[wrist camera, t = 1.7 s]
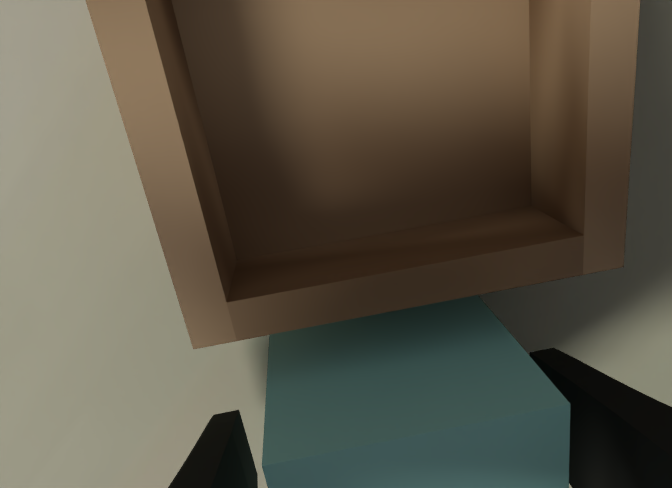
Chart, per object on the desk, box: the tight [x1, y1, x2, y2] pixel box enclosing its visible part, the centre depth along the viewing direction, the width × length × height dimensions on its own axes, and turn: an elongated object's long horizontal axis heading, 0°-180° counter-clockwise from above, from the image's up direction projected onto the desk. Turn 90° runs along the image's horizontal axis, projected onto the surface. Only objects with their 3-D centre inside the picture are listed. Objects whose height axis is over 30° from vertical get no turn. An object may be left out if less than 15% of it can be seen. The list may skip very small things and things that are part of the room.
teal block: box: [262, 295, 570, 488], centre depth 11 cm, size 5×5×5 cm
